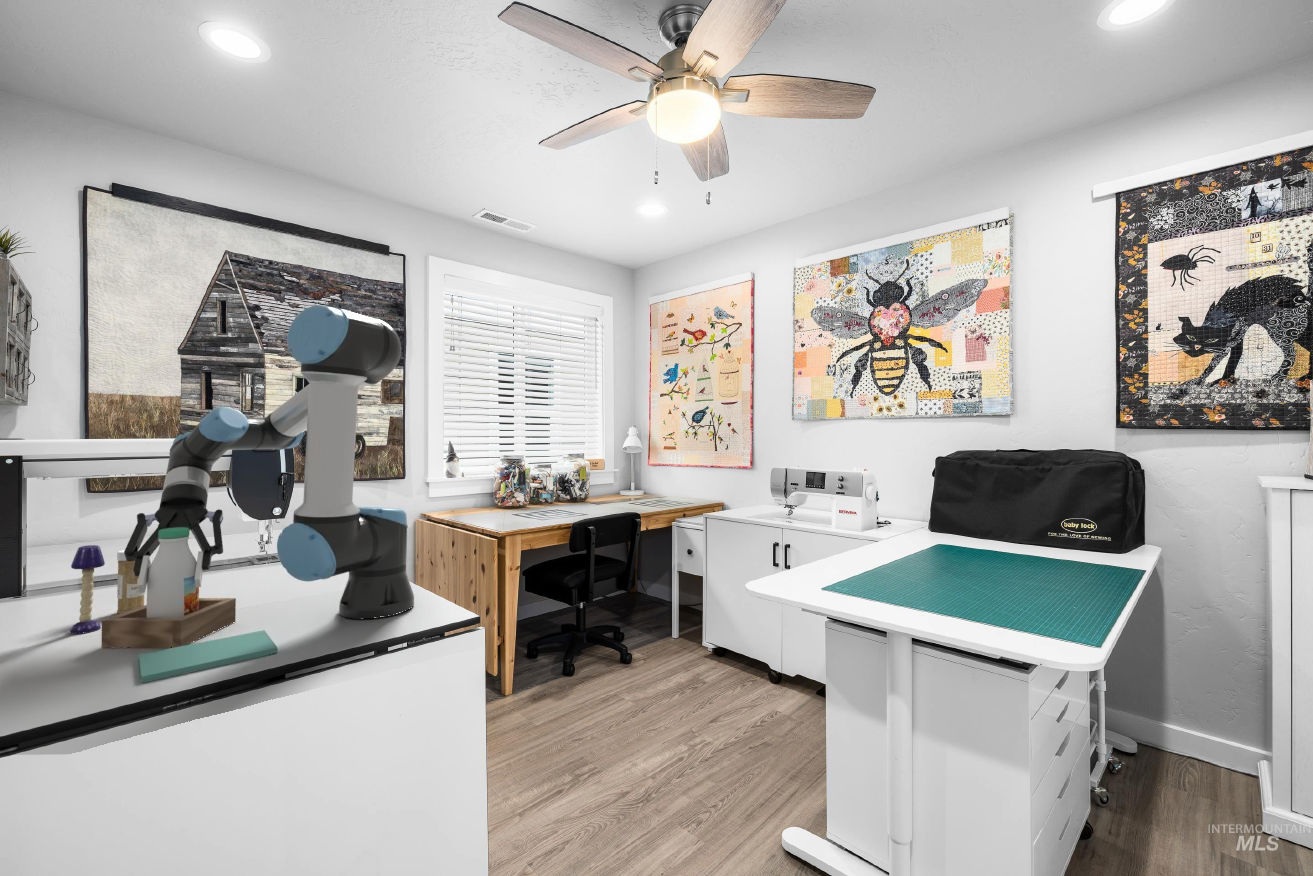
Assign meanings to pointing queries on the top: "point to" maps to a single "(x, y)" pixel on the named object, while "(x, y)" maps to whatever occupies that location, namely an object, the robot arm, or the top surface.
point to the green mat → (204, 655)
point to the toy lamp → (87, 585)
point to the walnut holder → (167, 626)
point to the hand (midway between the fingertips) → (170, 585)
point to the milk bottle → (172, 577)
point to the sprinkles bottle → (127, 585)
